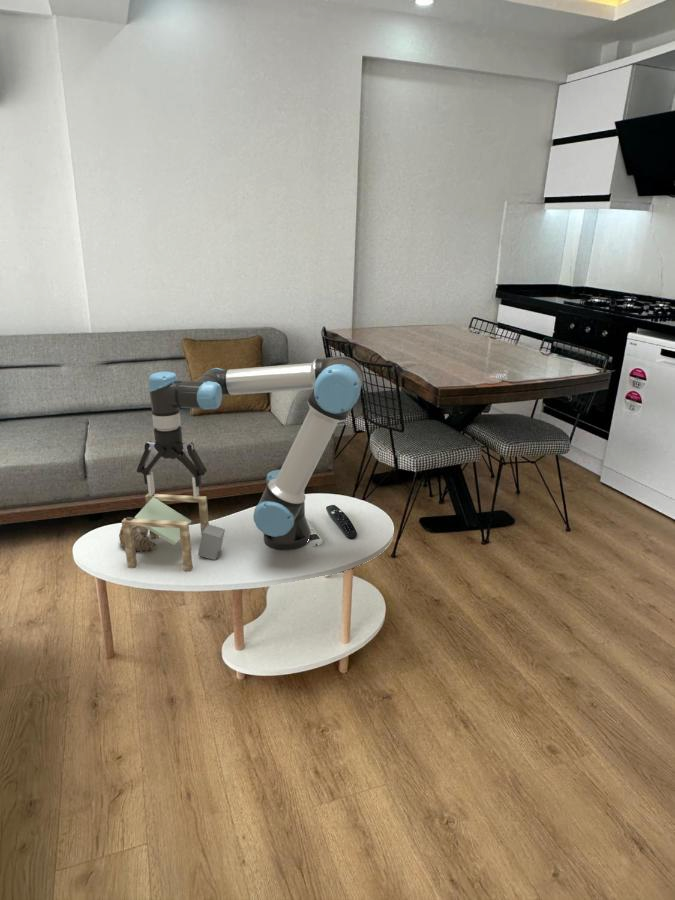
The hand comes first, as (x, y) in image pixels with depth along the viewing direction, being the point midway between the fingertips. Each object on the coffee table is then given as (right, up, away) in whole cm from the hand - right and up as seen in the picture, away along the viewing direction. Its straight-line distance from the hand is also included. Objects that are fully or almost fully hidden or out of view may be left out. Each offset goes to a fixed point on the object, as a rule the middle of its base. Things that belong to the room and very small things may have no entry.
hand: (174, 495), depth 178 cm
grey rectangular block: (+10, -15, +5) cm, 18 cm away
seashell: (-15, -16, +13) cm, 26 cm away
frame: (-3, -18, +7) cm, 20 cm away
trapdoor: (-6, -10, +5) cm, 13 cm away
